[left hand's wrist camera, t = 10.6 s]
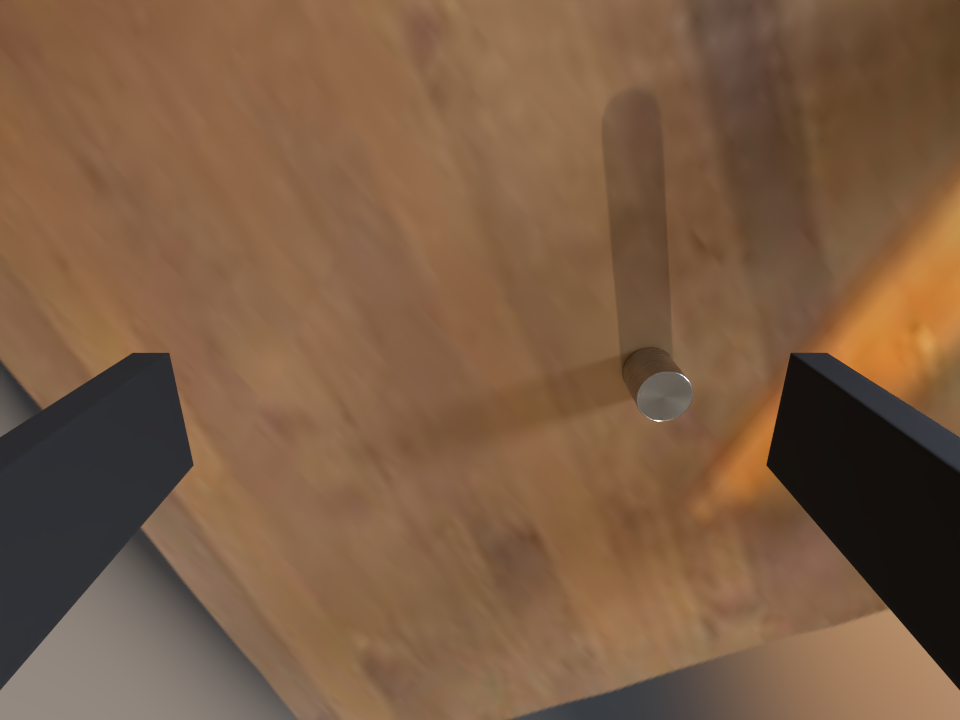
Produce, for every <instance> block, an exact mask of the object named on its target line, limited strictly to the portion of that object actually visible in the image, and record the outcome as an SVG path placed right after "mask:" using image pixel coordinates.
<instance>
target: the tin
mask: <svg viewBox="0 0 960 720" xmlns="http://www.w3.org/2000/svg"><path fill="white" fill-rule="evenodd" d="M623 379H624V382H625V384H626V386H627V388H628V390H629V391H630V393H631V395H632V397H633V399H634V401H635V403H636V405H637V407H638V409H639V410H640V412H641V413H642V414H643V415H644V416H646V417H647V418H649V419H652V420H655V421H668V420H672V419H674V418H677V417H678V416H680V415H681V414H683V413H684V412H685V411H686V410H687V408H688V407H689V405H690V403H691V401H692V397H693V389H692V386H691V383H690V382H689V380H688V379H687V378H686V376H685V375H684V374H683V372H682V371H681V370H680V369H679V367H678V366H677V365H676V363H675V362H674V361H673V359H672V358H671V357H670V356H669V354H668V353H666V352H665V351H663V350H661V349H658V348H644V349H641V350H638V351H636V352H635V353H633V354H632V355H631V356H630V357H629V358H628V359H627V361H626V363H625V365H624V367H623Z"/></svg>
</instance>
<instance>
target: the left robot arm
mask: <svg viewBox="0 0 960 720" xmlns="http://www.w3.org/2000/svg"><path fill="white" fill-rule="evenodd" d="M192 467H193V460H192V456H191V451H190V447H189V442H188V437H187V433H186V428H185V424H184V419H183V414H182V410H181V405H180V401H179V396H178V391H177V387H176V382H175V378H174V373H173V368H172V364H171V359H170V355H169V353H132V354H131V355H129V356H127V357H126V358H124V359H123V360H121V361H120V362H118V363H116V364H115V365H113V366H112V367H110V368H109V369H107V370H105V371H104V372H102V373H101V374H99V375H98V376H96V377H94V378H93V379H91V380H90V381H88V382H87V383H85V384H83V385H82V386H80V387H79V388H77V389H76V390H74V391H72V392H71V393H69V394H68V395H66V396H65V397H63V398H61V399H60V400H58V401H57V402H55V403H54V404H52V405H50V406H49V407H47V408H46V409H44V410H43V411H41V412H39V413H38V414H36V415H35V416H33V417H32V418H30V419H28V420H27V421H25V422H24V423H22V424H21V425H19V426H17V427H16V428H14V429H13V430H11V431H10V432H8V433H6V434H5V435H3V436H2V437H0V690H1V689H2V687H3V686H4V685H5V684H6V683H7V682H8V681H9V679H10V678H11V677H12V676H13V675H14V674H15V672H16V671H17V670H18V669H19V668H20V667H21V665H22V664H23V663H24V662H25V661H26V660H27V658H28V657H29V656H30V655H31V654H32V653H33V651H34V650H35V649H36V648H37V647H38V646H39V644H40V643H41V642H42V641H43V640H44V639H45V637H46V636H47V635H48V634H49V633H50V632H51V630H52V629H53V628H54V627H55V626H56V625H57V624H58V622H59V621H60V620H61V619H62V618H63V616H64V615H65V614H66V613H67V612H68V611H69V610H70V608H71V607H72V606H73V605H74V604H75V603H76V601H77V600H78V599H79V598H80V597H81V596H82V594H83V593H84V592H85V591H86V590H87V589H88V587H89V586H90V585H91V584H92V583H93V582H94V580H95V579H96V578H97V577H98V576H99V575H100V574H101V572H102V571H103V570H104V569H105V568H106V567H107V565H108V564H109V563H110V562H111V561H112V560H113V558H114V557H115V556H116V555H117V554H118V553H119V551H120V550H121V549H122V548H123V547H124V546H125V544H126V543H127V542H128V541H129V540H130V539H131V537H132V536H133V535H134V534H135V533H136V532H137V530H138V529H139V528H140V527H141V526H142V525H143V524H144V522H145V521H146V520H147V519H148V518H149V517H150V515H151V514H152V513H153V512H154V511H155V510H156V508H157V507H158V506H159V505H160V504H161V503H162V501H163V500H164V499H165V498H166V497H167V496H168V494H169V493H170V492H171V491H172V490H173V489H174V487H175V486H176V485H177V484H178V483H179V482H180V480H181V479H182V478H183V477H184V476H185V475H186V473H187V472H188V471H189V470H190V469H191V468H192ZM767 467H768V468H769V469H770V470H771V471H772V472H773V473H774V475H775V476H776V477H777V478H778V479H779V480H780V482H781V483H782V484H783V485H784V486H785V487H786V489H787V490H788V491H789V492H790V493H791V494H792V496H793V497H794V498H795V499H796V500H797V501H798V503H799V504H800V505H801V506H802V507H803V508H804V510H805V511H806V512H807V513H808V514H809V515H810V517H811V518H812V519H813V520H814V521H815V522H816V524H817V525H818V526H819V527H820V528H821V529H822V530H823V532H824V533H825V534H826V535H827V536H828V537H829V539H830V540H831V541H832V542H833V543H834V544H835V546H836V547H837V548H838V549H839V550H840V551H841V553H842V554H843V555H844V556H845V557H846V558H847V560H848V561H849V562H850V563H851V564H852V565H853V567H854V568H855V569H856V570H857V571H858V572H859V574H860V575H861V576H862V577H863V578H864V579H865V580H866V582H867V583H868V584H869V585H870V586H871V587H872V589H873V590H874V591H875V592H876V593H877V594H878V596H879V597H880V598H881V599H882V600H883V601H884V603H885V604H886V605H887V606H888V607H889V608H890V610H891V611H892V612H893V613H894V614H895V615H896V617H897V618H898V619H899V620H900V621H901V622H902V624H903V625H904V626H905V627H906V628H907V629H908V631H909V632H910V633H911V634H912V635H913V636H914V637H915V639H916V640H917V641H918V642H919V643H920V644H921V646H922V647H923V648H924V649H925V650H926V651H927V653H928V654H929V655H930V656H931V657H932V658H933V660H934V661H935V662H936V663H937V664H938V665H939V667H940V668H941V669H942V670H943V671H944V672H945V674H946V675H947V676H948V677H949V678H950V679H951V681H952V682H953V683H954V684H955V685H956V686H957V687H958V689H959V690H960V437H958V436H957V435H955V434H954V433H952V432H950V431H949V430H947V429H946V428H944V427H943V426H941V425H939V424H938V423H936V422H935V421H933V420H932V419H930V418H928V417H927V416H925V415H924V414H922V413H921V412H919V411H917V410H916V409H914V408H913V407H911V406H910V405H908V404H906V403H905V402H903V401H902V400H900V399H899V398H897V397H895V396H894V395H892V394H891V393H889V392H888V391H886V390H884V389H883V388H881V387H880V386H878V385H877V384H875V383H873V382H872V381H870V380H869V379H867V378H866V377H864V376H862V375H861V374H859V373H858V372H856V371H855V370H853V369H851V368H850V367H848V366H847V365H845V364H844V363H842V362H840V361H839V360H837V359H836V358H834V357H833V356H831V355H829V354H828V353H791V355H790V359H789V364H788V368H787V373H786V378H785V382H784V387H783V391H782V396H781V401H780V405H779V410H778V414H777V419H776V424H775V428H774V433H773V437H772V442H771V447H770V451H769V456H768V460H767Z"/></svg>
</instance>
